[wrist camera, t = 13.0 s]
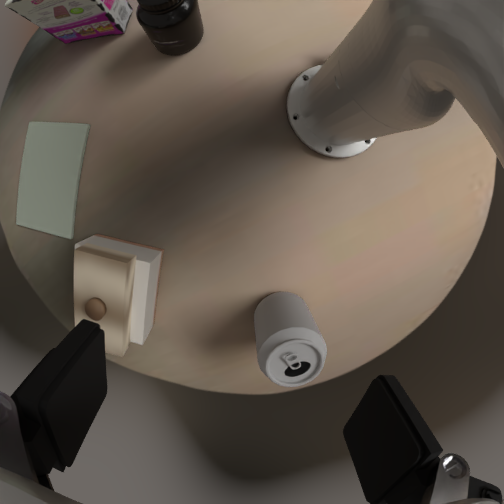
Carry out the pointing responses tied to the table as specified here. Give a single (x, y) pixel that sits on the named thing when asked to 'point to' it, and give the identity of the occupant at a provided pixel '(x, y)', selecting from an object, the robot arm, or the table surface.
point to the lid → (105, 292)
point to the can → (288, 340)
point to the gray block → (137, 281)
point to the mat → (51, 176)
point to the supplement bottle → (171, 24)
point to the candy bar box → (75, 17)
